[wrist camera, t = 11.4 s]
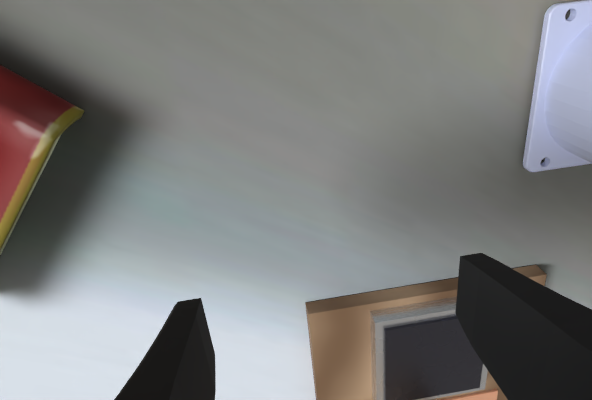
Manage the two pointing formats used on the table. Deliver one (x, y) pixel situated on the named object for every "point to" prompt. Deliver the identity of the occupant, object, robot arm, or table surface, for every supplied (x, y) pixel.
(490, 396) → the square coaster
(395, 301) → the board
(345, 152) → the table surface
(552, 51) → the robot arm
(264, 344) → the table surface
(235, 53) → the table surface
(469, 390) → the ink pad
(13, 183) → the hardcover book
